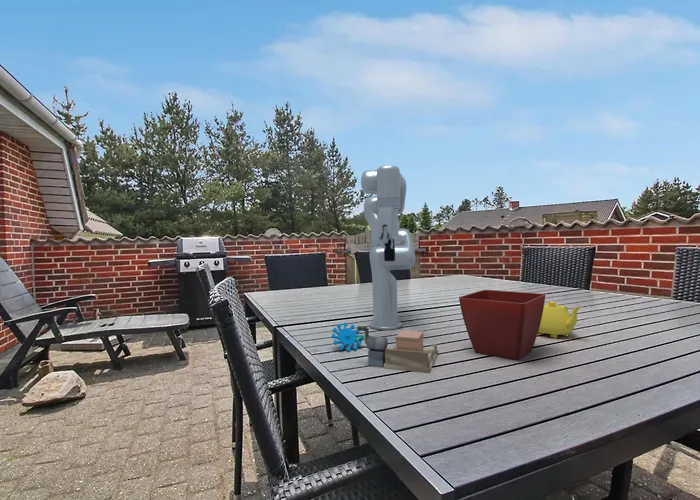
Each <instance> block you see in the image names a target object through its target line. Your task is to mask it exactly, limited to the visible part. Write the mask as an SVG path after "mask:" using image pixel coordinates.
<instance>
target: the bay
mask: <svg viewBox="0 0 700 500" xmlns="http://www.w3.org/2000/svg"><path fill="white" fill-rule="evenodd" d="M356 330H358V331H360V332H361V331H363V332H364V334H365V338H364V339H365V342H364V344H365V345H366V349H367V350H368V351H367V357H368V358H367V361H368V364H367V365H368V366H369V367H377V368H384V369H389V370H397V371H398V370H399V371H408V372H409V371H410V372H418V373H419V372H420V373H430V372H431V370H432V368H433V366H434V363H435V361H436V359H437V357H438V355H439V349H437V348H438V347H437V344H438V343H437V342H431V345H430V347H429V348H423V351H415V350H403V349H396V344H395V345H394V346H393V347H392V348H389V347H388V342H389V341H388V337H386V336H377V335H376V336H374V335H370V334H369V332H370V331H369V330H370V329H369V327H368V326H365V325H364V326H362V325H359V326H357V328H356Z"/></svg>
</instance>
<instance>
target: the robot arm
mask: <svg viewBox="0 0 700 500" xmlns="http://www.w3.org/2000/svg"><path fill="white" fill-rule="evenodd" d="M360 186H361V191H362V192H363V193H364V194H368V195H369V194H370V195H373V196H368V197H367V198H366V199H365V200H364V202H363V211H364V212H363V213H364V217H365V220H366V222H367V224H368V225H369V227H370V234H371V235H370V236H371V244H372V246H373V247H372V248H371V249H370V251H369V262H370V268H371V277H372V283H371V284H372V285H371V287H372V316H373V317H372V321H370V322H369V323H368V324H369V327H370V328H371V329H375V330H382V331H383V330H385V331H386V330H387V331H388V330H389V331H390V330H397V329H400V328H401V327H402V325H403V324H402V322H401V321H399V319H398V281H397V279H396V277H395V276H394V275H393V274H392V273H391V271H395V270H401V271H402V270H410V269H412V268H414V266H415V263H416V254H415V248H414V245H413V239H412V235H411V232H410V231H409V230H408V229H407V228H403V227H399V226H400V225H399V215H401V214H402V213H404V211H405V204H406V203H405V202H406V195H407V181H406V179H405V177H404V176H403V175H402V174H401V172H400V168H399V167H398V166H396V165H381V166H379V167H378V168H377V169H373V170H372V169H371V170H364V171H363V172H362V174H361V177H360Z"/></svg>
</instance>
